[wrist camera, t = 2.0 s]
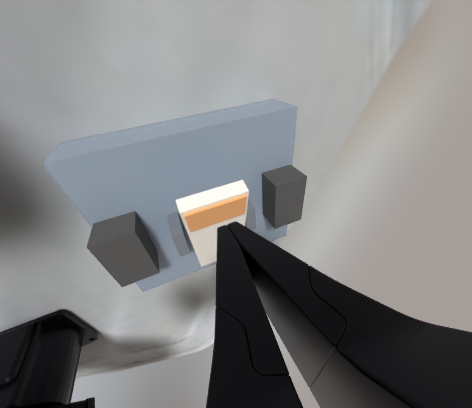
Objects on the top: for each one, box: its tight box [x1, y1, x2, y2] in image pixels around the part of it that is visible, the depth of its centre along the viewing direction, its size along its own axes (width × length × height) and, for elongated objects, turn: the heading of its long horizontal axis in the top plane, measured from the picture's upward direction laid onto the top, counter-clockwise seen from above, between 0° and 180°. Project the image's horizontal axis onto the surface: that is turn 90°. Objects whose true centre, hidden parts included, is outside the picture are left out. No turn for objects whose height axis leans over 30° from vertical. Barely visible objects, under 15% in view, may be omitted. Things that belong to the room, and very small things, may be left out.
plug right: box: [262, 165, 307, 229], centre depth 15 cm, size 4×2×2 cm, turn 7°
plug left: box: [87, 211, 160, 287], centre depth 13 cm, size 4×2×2 cm, turn 7°
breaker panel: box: [42, 99, 297, 292], centre depth 15 cm, size 12×14×5 cm
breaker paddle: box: [176, 180, 249, 267], centre depth 13 cm, size 8×4×1 cm, turn 6°
